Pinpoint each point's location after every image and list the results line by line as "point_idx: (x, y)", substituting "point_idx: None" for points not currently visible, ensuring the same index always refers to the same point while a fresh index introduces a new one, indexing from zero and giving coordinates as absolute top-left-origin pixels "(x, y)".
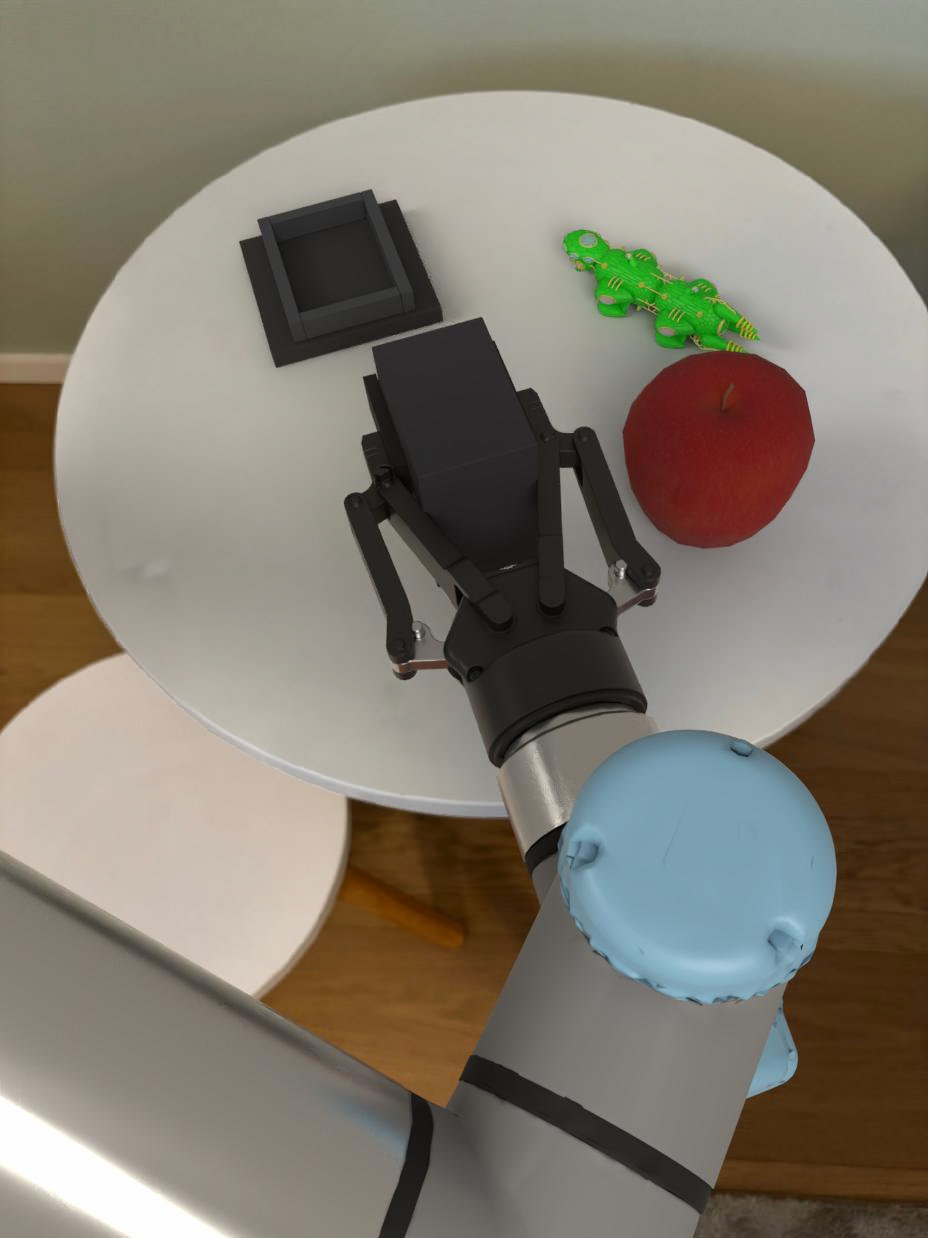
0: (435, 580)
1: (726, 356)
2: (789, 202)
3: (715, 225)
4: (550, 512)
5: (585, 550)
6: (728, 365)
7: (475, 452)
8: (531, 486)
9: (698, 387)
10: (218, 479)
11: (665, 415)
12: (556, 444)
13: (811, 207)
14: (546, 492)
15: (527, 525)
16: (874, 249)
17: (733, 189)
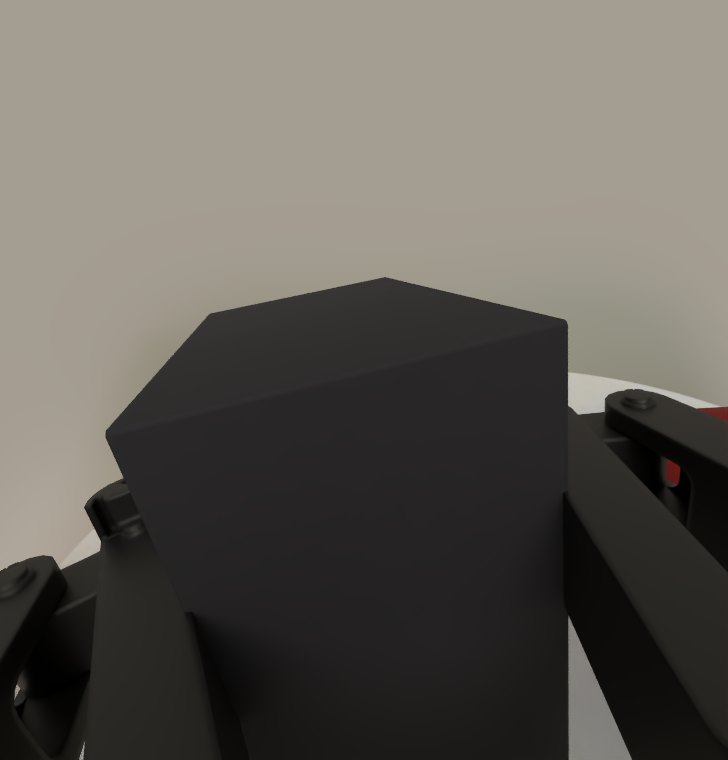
0: None
1: (702, 409)
2: (618, 388)
3: (571, 403)
4: (693, 600)
5: (572, 701)
6: (716, 414)
7: (351, 359)
8: (549, 518)
9: None
10: None
11: (670, 468)
12: (576, 421)
13: (637, 388)
14: (621, 525)
15: (538, 664)
16: (707, 402)
17: (573, 387)
